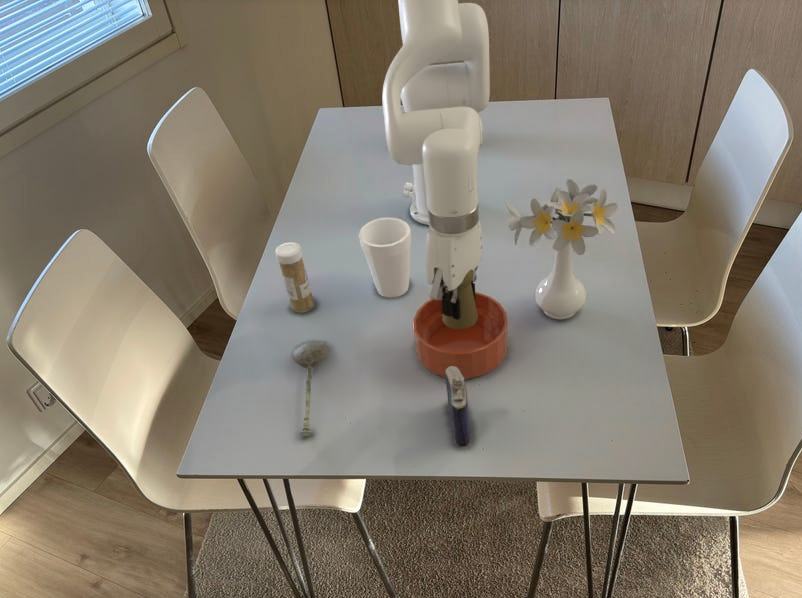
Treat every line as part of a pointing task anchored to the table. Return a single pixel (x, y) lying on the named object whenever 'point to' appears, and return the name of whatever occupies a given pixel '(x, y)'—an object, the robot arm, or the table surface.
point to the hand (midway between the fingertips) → (459, 307)
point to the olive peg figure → (464, 305)
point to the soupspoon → (309, 371)
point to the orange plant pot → (461, 339)
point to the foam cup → (387, 254)
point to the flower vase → (564, 242)
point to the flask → (458, 405)
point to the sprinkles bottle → (295, 276)
